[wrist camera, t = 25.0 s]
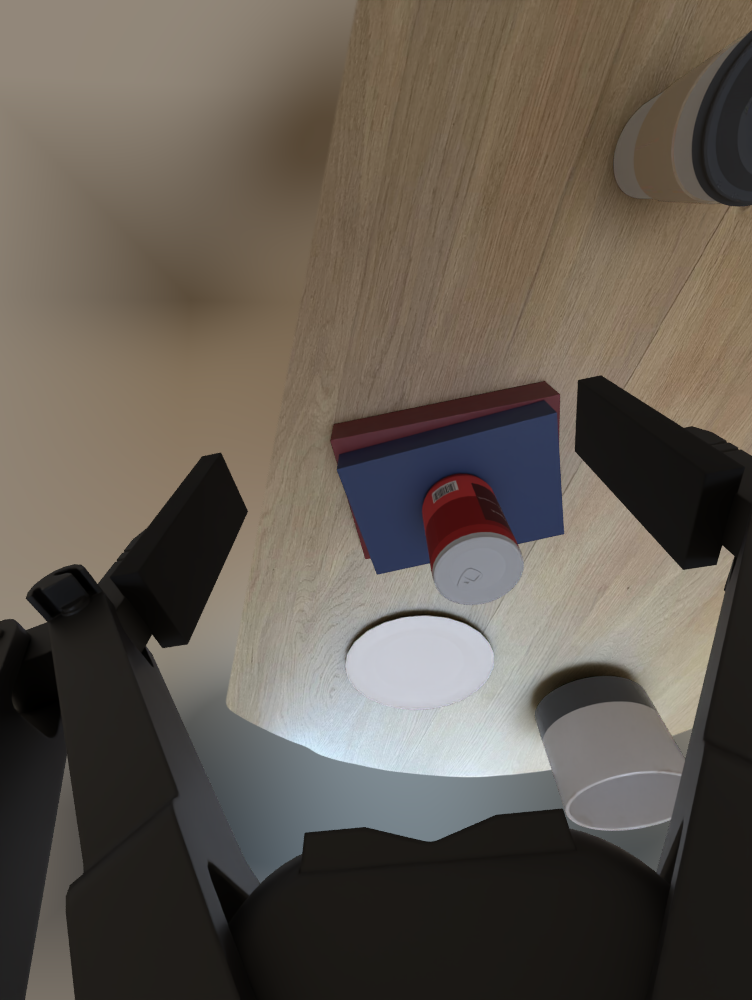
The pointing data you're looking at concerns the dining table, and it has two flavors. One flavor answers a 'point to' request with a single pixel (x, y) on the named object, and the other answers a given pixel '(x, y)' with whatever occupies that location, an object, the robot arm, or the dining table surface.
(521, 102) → the dining table surface
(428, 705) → the plate
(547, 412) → the book stack
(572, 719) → the planter
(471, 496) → the canned food
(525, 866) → the robot arm
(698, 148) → the coffee cup
